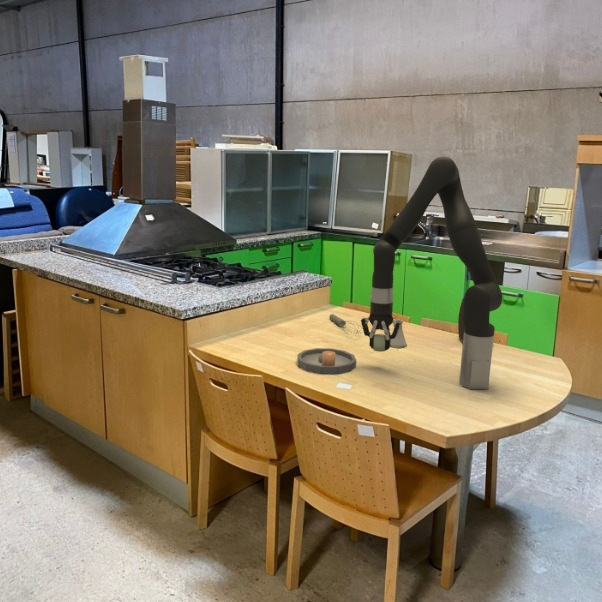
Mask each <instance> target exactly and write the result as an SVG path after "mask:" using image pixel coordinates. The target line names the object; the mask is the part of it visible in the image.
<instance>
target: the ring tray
mask: <svg viewBox="0 0 602 602" xmlns="http://www.w3.org/2000/svg"><path fill="white" fill-rule="evenodd" d="M324 351H333V352H335V366H322V352H324ZM296 355H297V356H296V357H297V360H296V362H297V366H298V368H301V370H303V371H306V372H310V373H315V374H320V375H339V374H343V373H344V374H345V373H348V372H352V370H354V369H355V368H356V366H357V359H356V356H355V354H352V353H350V352H349V351H347V350H342V349H336V348H330V347H329V348H328V347H326V348H325V347H323V348H322V347H319V348H318V347H317V348H311V349H305V350H302V351H301V352H299V353H298V354H296Z"/></svg>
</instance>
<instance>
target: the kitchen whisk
mask: <svg viewBox="0 0 602 602" xmlns="http://www.w3.org/2000/svg"><path fill="white" fill-rule="evenodd" d="M328 318H329V320H331V321H333V323H335V324H337V325H339V326H340V327H341V329H342V330H343V331H344V333H345V334H347V335H349V333H348V332H347V331H346V329H348V330H349V329H350V330H351V331H354V333H352V335H354V334H355V335H358V334H362V332H361V331H360V330H359V327H360V328H361V329H363V327H362V325H359V323H358V322H357V321H355V320H353V322H354V325H353V322H352V321H350V320H344V319H342V317H341V318H340V317H339V316H338V315H335V314H334V313H331V314H330V315H329V317H328ZM347 323H349V324H351V325H353V327H354V328H353V327H352V326H350V325H348V324H347ZM355 323H356V324H355ZM355 325H356V326H357V328H356V327H355ZM344 327H345V328H346V329H345V328H344ZM353 329H354V330H353ZM345 331H346V332H345Z"/></svg>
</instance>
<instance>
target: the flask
mask: <svg viewBox="0 0 602 602" xmlns="http://www.w3.org/2000/svg"><path fill="white" fill-rule="evenodd" d="M394 320H395V321H397V322H398V321H400V322H401V325H400V327H399V330H398V333H397V335H396V337H395V338H394V339H391V343H390V348H391V347H392V348H397V349H400V348H401V349H402V348H405V347H407V346H408V344H407V341H406V338H405V335H404V329H403V323H404V320H401V319H394ZM394 328H395V327H393V331H394ZM393 331H392V332H391V334H392V333H393Z"/></svg>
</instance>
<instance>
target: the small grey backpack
mask: <svg viewBox="0 0 602 602" xmlns="http://www.w3.org/2000/svg"><path fill="white" fill-rule="evenodd" d="M463 301H464V296H463V297H462V299H461V302H460V306H459V312H458V318H457V319H458V320H457V322H458V323H457V327H458V328H457V330H458V331H457V332H458V339H459V340H460V341H461V342H462V343H463V338H464V325H463Z"/></svg>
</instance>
